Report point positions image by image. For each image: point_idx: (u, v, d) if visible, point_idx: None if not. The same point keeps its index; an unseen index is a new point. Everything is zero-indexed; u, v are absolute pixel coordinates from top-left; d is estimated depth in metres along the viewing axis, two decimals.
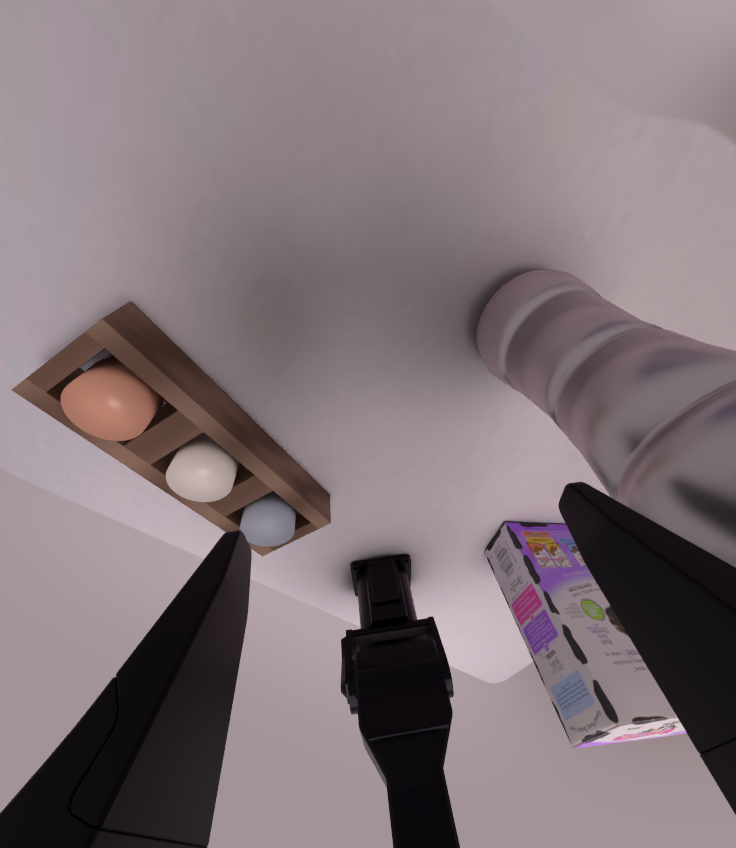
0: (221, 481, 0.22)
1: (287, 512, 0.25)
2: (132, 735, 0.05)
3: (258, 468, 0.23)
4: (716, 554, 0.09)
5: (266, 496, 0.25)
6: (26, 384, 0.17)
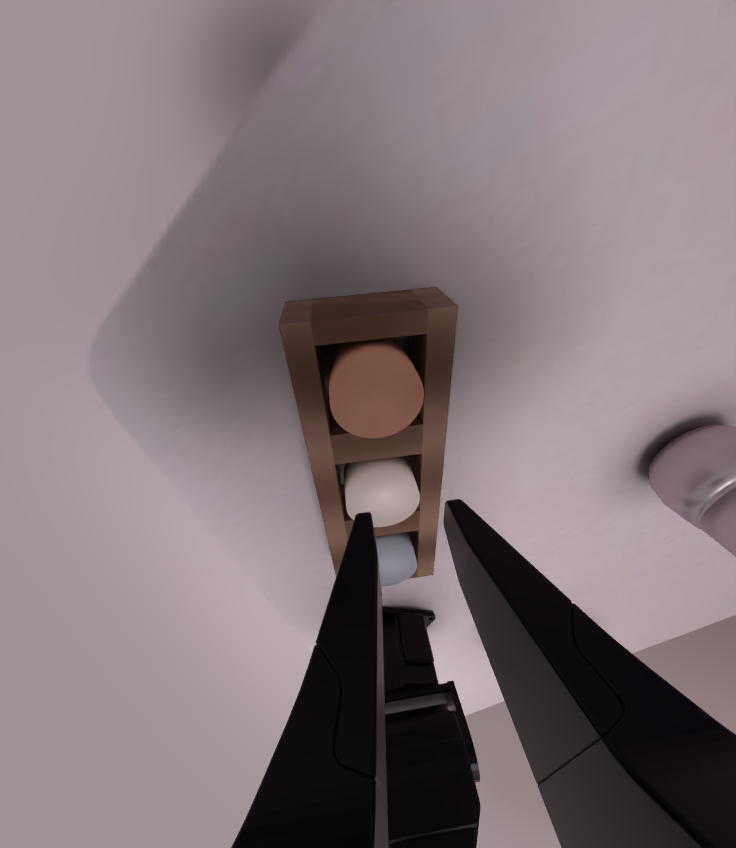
0: (401, 510, 0.18)
1: (415, 556, 0.22)
2: (359, 697, 0.05)
3: (429, 505, 0.20)
4: None
5: None
6: (302, 327, 0.13)
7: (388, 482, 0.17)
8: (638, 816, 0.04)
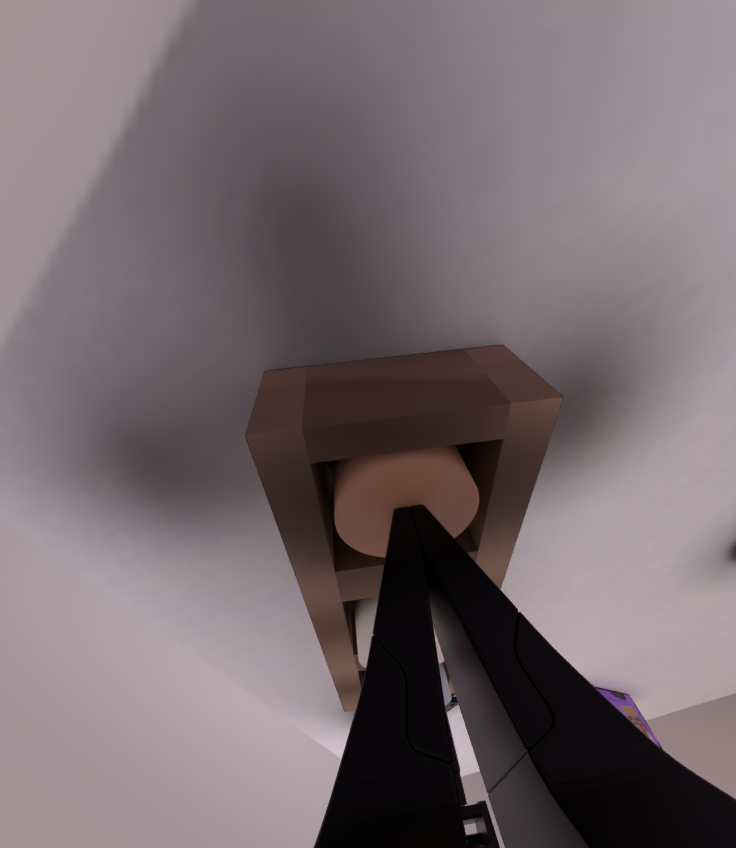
0: (438, 655, 0.13)
1: None
2: (423, 686, 0.05)
3: None
4: None
5: None
6: (288, 437, 0.07)
7: None
8: (557, 832, 0.04)
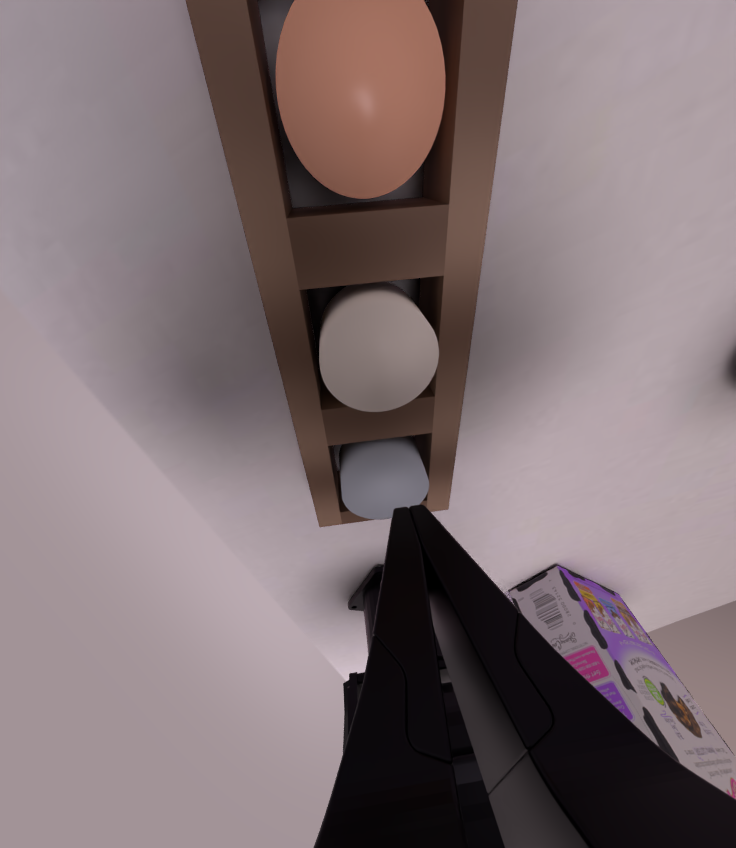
0: (409, 380, 0.12)
1: None
2: (423, 686, 0.05)
3: (450, 387, 0.13)
4: None
5: (402, 438, 0.15)
6: None
7: (388, 316, 0.10)
8: (558, 832, 0.04)
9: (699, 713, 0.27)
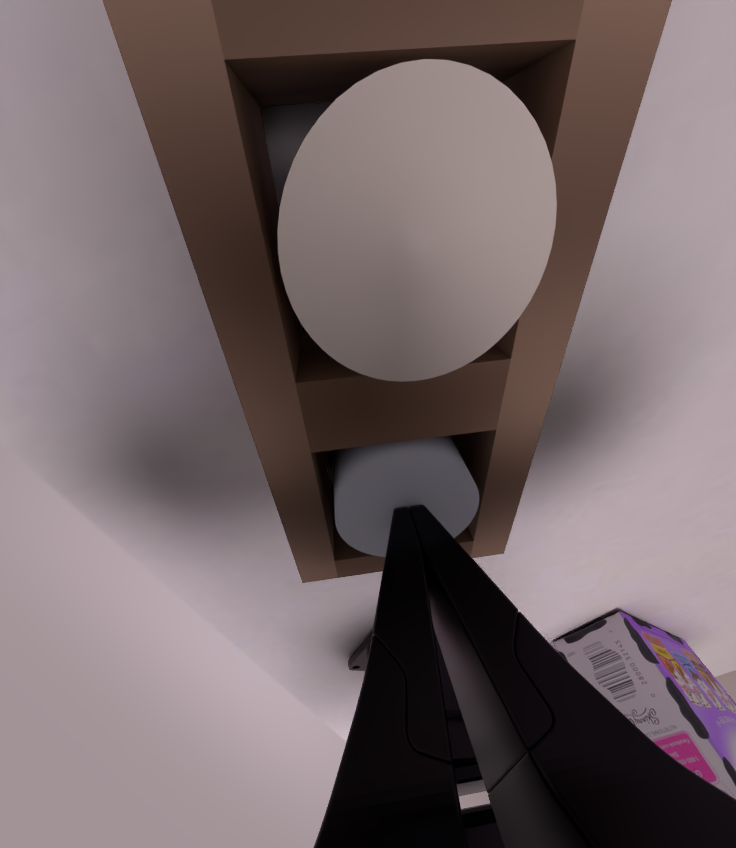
0: (479, 309, 0.05)
1: None
2: (423, 686, 0.05)
3: (542, 340, 0.07)
4: None
5: None
6: None
7: (449, 113, 0.04)
8: (557, 831, 0.04)
9: None
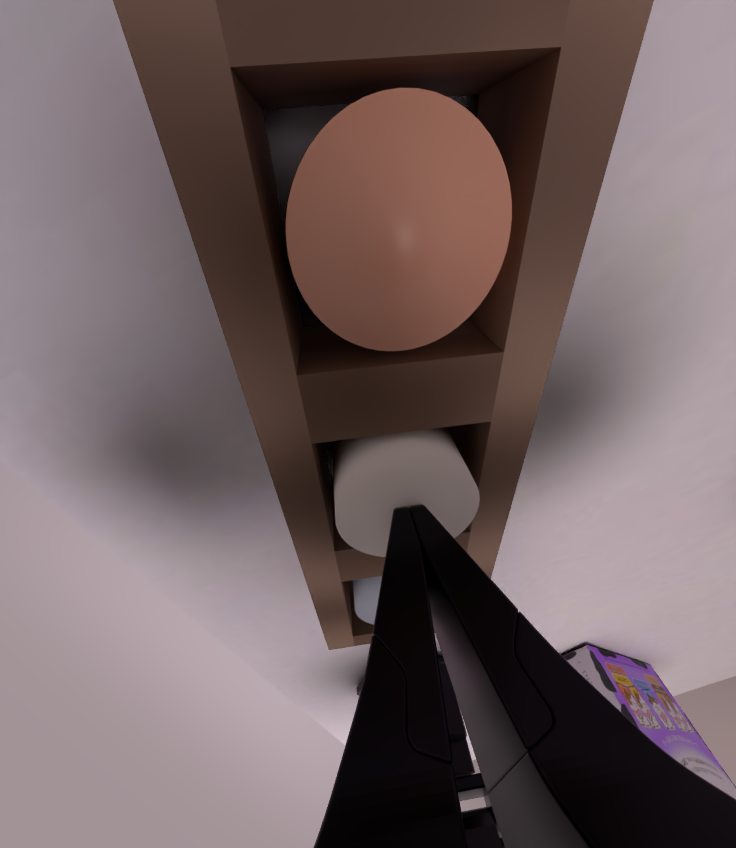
0: None
1: None
2: (423, 686, 0.05)
3: (489, 523, 0.11)
4: None
5: None
6: None
7: (421, 472, 0.08)
8: (558, 832, 0.04)
9: None
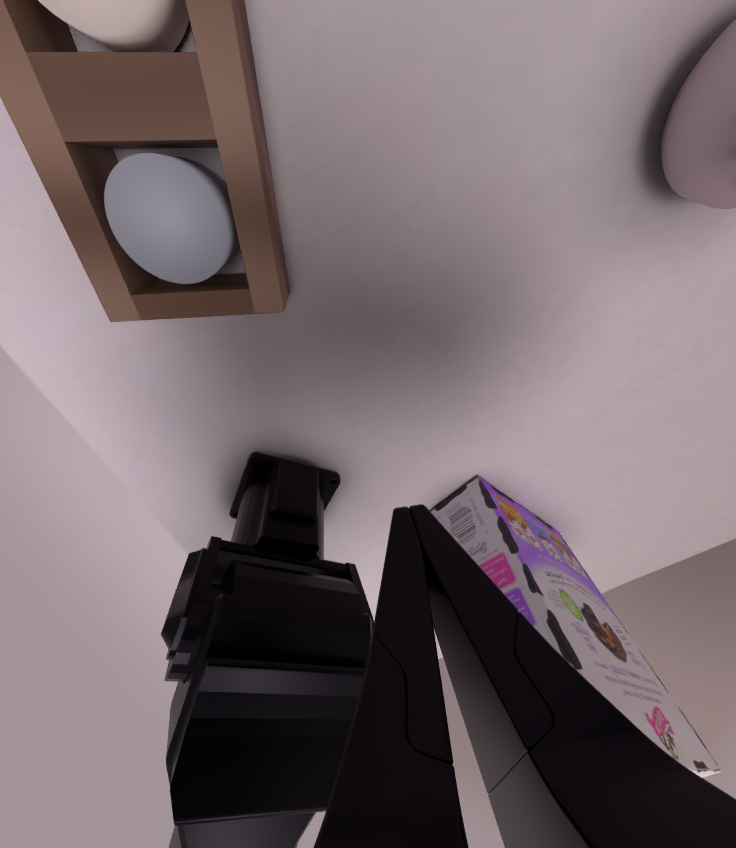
0: None
1: (227, 214, 0.12)
2: (423, 686, 0.05)
3: (215, 33, 0.09)
4: None
5: (198, 166, 0.12)
6: None
7: None
8: (557, 832, 0.04)
9: (631, 646, 0.23)
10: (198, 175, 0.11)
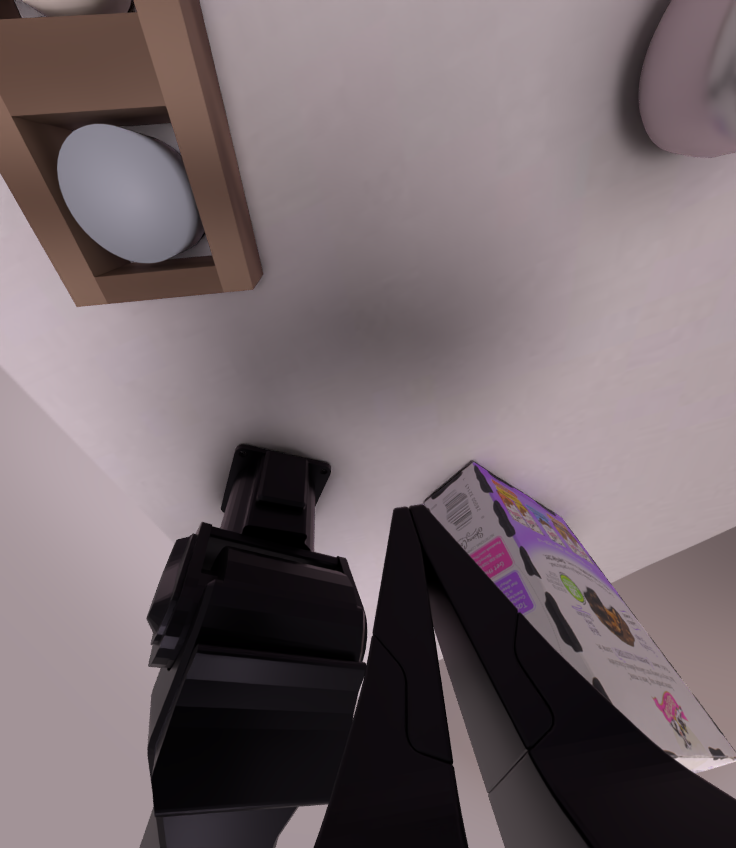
0: None
1: (187, 188, 0.12)
2: (423, 686, 0.05)
3: None
4: None
5: (155, 140, 0.12)
6: None
7: None
8: (557, 832, 0.04)
9: (640, 631, 0.22)
10: (151, 146, 0.11)
